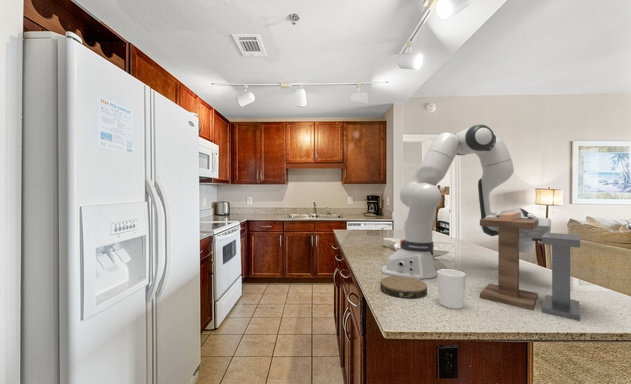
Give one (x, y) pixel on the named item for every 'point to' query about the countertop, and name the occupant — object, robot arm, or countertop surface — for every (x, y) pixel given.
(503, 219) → the terracotta bar
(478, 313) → the countertop surface
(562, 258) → the grey stand
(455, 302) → the white cup
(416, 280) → the round wood slice
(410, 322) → the countertop surface
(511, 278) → the walnut stand
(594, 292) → the countertop surface
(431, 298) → the countertop surface
